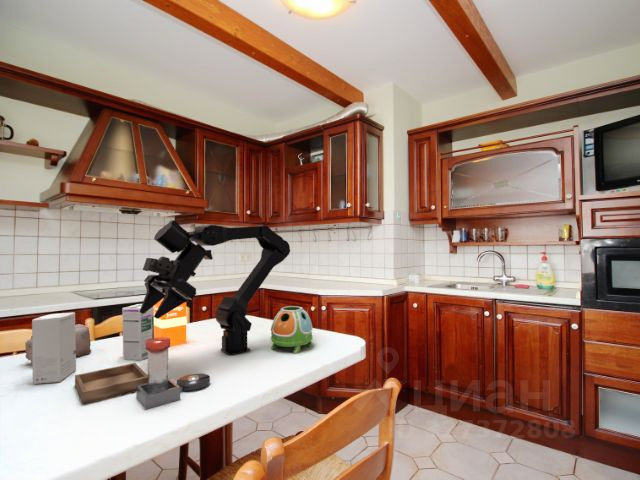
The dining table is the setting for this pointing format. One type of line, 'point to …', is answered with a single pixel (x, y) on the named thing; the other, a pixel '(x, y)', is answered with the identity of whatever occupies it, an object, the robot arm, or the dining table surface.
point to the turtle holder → (291, 328)
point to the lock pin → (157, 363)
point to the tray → (109, 382)
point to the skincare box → (53, 347)
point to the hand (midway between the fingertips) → (148, 315)
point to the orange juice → (171, 325)
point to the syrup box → (136, 331)
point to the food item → (81, 342)
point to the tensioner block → (172, 390)
